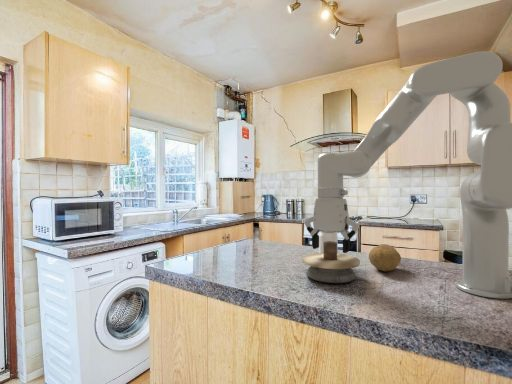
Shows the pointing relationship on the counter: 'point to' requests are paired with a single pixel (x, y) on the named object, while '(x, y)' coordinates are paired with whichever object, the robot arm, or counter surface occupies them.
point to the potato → (384, 257)
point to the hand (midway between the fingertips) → (330, 250)
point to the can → (327, 239)
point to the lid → (330, 258)
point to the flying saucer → (331, 275)
